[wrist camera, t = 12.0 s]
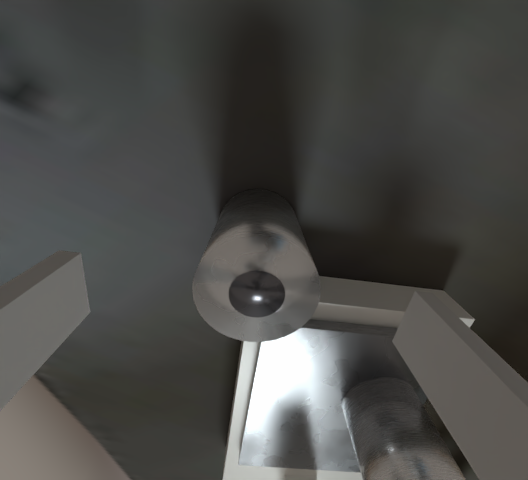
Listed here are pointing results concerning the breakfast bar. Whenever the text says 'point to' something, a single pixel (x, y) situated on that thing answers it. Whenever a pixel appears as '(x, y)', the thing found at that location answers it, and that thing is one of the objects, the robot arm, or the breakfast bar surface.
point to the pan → (314, 394)
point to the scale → (329, 309)
